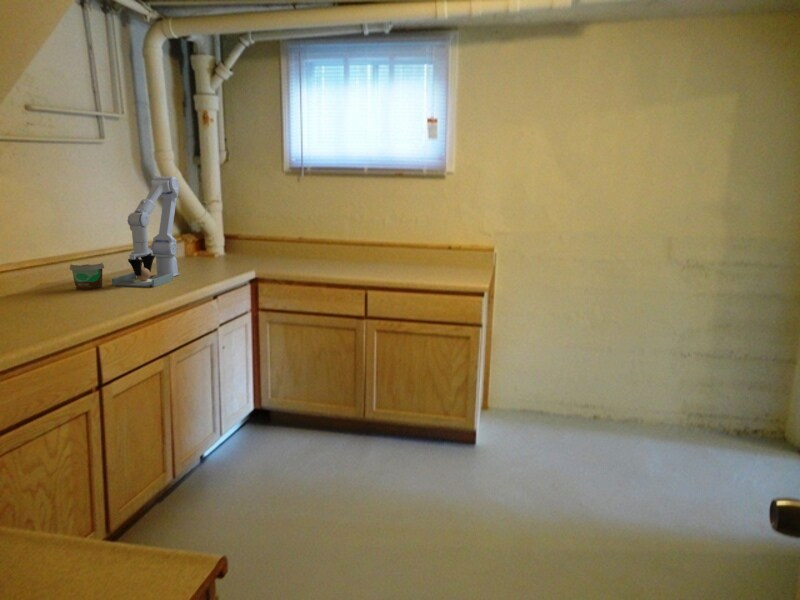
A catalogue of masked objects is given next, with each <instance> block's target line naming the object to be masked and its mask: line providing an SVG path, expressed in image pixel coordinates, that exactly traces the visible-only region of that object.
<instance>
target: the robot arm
mask: <svg viewBox="0 0 800 600" xmlns="http://www.w3.org/2000/svg"><path fill="white" fill-rule="evenodd" d="M150 185H151V188H150V190H149V191H148V194H147V196H146V198H144V199H141V201H140V202H139V204H138V206H136V209H135V210H134V211H133V212H131V213H130V214H128V216H127V220H126V221H127V224H128V226H129V230H130V231H131V235H132V236H131V237H132V247H133V251H131V253H130V254H129V255H128V256H129V258H128V259H127V260H128V263H129V264H130V266H131V267H132V270H133V272H134V273H135V275H136V277H137V276H141V268H147V269H148V270H149V271H150V273H151V272H152V268H153V267H152V266H153V263H154V260H155V265H156V275H153V277H161V276H164V275H167V274H170V273H173V278H174V277H176V276H179V275H180V274H181V273H180V272H179V270H178V260H177V258H176V257H175V255H176V254H177V251H178V245H177V239H176V238H175V237H173V236H172V235H173V234H172V233H173V228H174V219H175V212H176V206H177V205H176V204H177V198H178V197H179V191H180V183H179V180H178V179H177V177H176V176H154V177H153V178H152V180H151V181H150ZM159 197H160V198H162V199H163V201H162V209H161V215H160V223H159V229H158V233H157V235H155V236H154V237H153V238H152V243H151V245H150V249H149V241H148V240H149V239H148V238H149V237H148V229H147V227H148V226H149V225H150V219H151V215H152V213H153V211H154V209H155V203H156V201H157V200H158V198H159Z"/></svg>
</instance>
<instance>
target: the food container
mask: <svg viewBox="0 0 800 600" xmlns="http://www.w3.org/2000/svg"><path fill="white" fill-rule="evenodd" d="M103 269H105V265H104V263H103V262H100V263H96V264H81V265H76V264H72V263H70V265H69V270H70V271H71V272H72V278H73V281H74V285H75V289H76V290H78V291H94V290H99V289H101V288H103Z"/></svg>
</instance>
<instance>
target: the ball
mask: <svg viewBox="0 0 800 600" xmlns="http://www.w3.org/2000/svg"><path fill="white" fill-rule="evenodd" d="M150 277H151V272H150V271H149V270H148V269H147V268H144V267H141V276H136V278H138V279H139V280H141V281H146V280H148V279H149V278H150Z"/></svg>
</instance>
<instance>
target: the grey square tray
mask: <svg viewBox="0 0 800 600" xmlns="http://www.w3.org/2000/svg"><path fill="white" fill-rule="evenodd" d="M134 278H137V276H136V275H135V273H134V271H132V272H129V273H125V274H121V275H119V276H116V277H113V278H111V283H112V284H111V285H112V286H113V287H117V286H116V284H119V283H122V282H125V281H128V280H131V279H134ZM172 281H174V277H173V273H170V274H167V275H164V276H161V277H158V278H156V279H153V280H152V286H151V288H156V287H159V286H161V285H164V284H167V283H169V282H172Z"/></svg>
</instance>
